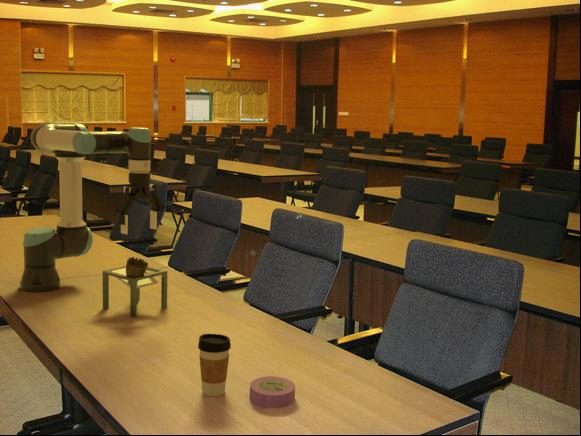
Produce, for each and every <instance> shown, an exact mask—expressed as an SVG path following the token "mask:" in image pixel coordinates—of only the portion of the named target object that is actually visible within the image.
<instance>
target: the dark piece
mask: <svg viewBox="0 0 581 436" xmlns="http://www.w3.org/2000/svg"><path fill="white" fill-rule="evenodd" d="M125 266H126V275H127V276H131V277H137V276H143V275H144V274H145V272H147V270H146V269H147V266H149V262H147V260H145V261H144V259H142V258H140V257H139V259H138V257H136V258H135V257H134V256H132V257H128V259H126V265H125ZM128 281H129V280H128ZM129 282H130V281H129ZM137 282H138V281H137Z"/></svg>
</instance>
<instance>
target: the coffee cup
mask: <svg viewBox="0 0 581 436" xmlns="http://www.w3.org/2000/svg"><path fill="white" fill-rule="evenodd" d="M197 348H198V350H199V356H198V357H199V368H200V378H201V379H200V380H201V392H202V394H203V395H204V396H206V397H212V398H213V397H220V396H222V395H224V394H225V392H226V384H227V375H228V369H229V361H230V359H229V358H230V354H229V353H230V349H231V339H230V337H229V336H227V335H223V334H217V333H203V334H201V335H199V338H198V344H197Z"/></svg>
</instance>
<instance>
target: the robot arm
mask: <svg viewBox="0 0 581 436" xmlns="http://www.w3.org/2000/svg"><path fill="white" fill-rule="evenodd" d="M151 137H152V136H151V129H150V128H147V127H138V126H137V127H135V126H134V127H133V126H132V127H129V129H128V131H123V130H114V131H89V130H88V128H87V127H86V126H85V125H84V124H83V123H82V124H81V123H74V122H64V123H61V122H60V123H59V122H57V123H56V122H46V123H41V124H39V125H37V126H36V127H35V128H33V130H32V131H31V133H30V142H31V144H32V146H33V147H34V148H35V150H37V151H39V152H42V153H48V154H54V156H55V157H54V158H55V159H57V160H58V168H59V175H58V176H59V214H60V215H59V218H60V220H59V221H58V222H57V223H56V229H55V227H52V226H44V227H42V226H40V227H35V228H32V229H28V230H27V231H26V232H25V233H24V234H23V242H22V243H23V244H22V245H23V265H24V268H23V272H22V275H21V279H20V281H19V289H20V290H22V291H26V292H32V293H34V292H35V293H37V292H48V291H53V290H56V289H59V288H60V287H61V278H60V275H59V273H58V271H57V268H56V267H57V266H56V260H60V259H65V258H66V259H67V258H73V257H74V258H75V257H76V258H77V257H82V256H84V255H87V254H88V253H89V251H91V249H92V245H93V242H94V241H93V237H94V236H93V233H92V230H91V228H89V227H88V226H87V222H86V221H84V219H83V165H82V162H83V160H85V159H86V155H90V154H91V155H92V154H128V169H127V170H128V171H129V172H128V183H129V186H122V188H121V194H120V197H119V199H118V201H117V204H116V207H115V210H114V214H115V215H117V216H119V225H120V234H122V235H128V234H129V233H128V232H129V231H128V230H129V226H128V225H129V224H128V223H129V219H128V218H129V217H128V215H127V213H128V212H129V210H130V209H131V207H132V206H133V204H134V202H135V201H136V200H139V199H144V200H145V202H146V203H147V204H148V206H149V207H150V209H151V210H150V211H149V229H151V230H157V228H158V219H159V212H161V210H162V209H163V204H162V201H161V199H160V197H159V193H158V190H157V185H156V184H155V183H154V184H153V183H151V173H150V172H151V152H152V151H151V150H152V149H151V148H152V146H151V145H152V138H151Z"/></svg>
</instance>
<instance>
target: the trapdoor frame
mask: <svg viewBox="0 0 581 436" xmlns="http://www.w3.org/2000/svg"><path fill="white" fill-rule="evenodd" d="M123 268H126V265H124V266H119V267H118V266H117V267H114V268H110V269H106V270H105V269H104V270H102V309H103V310H108V309H110V305H109V302H110V297H109V292H110V290H109V289H110V285H109V284H110V282H109V281H110V280H109V278H110V277H115V278H116V277H117V278H121V279H125V280H129V281H130V288H129V292H130V293H129V294H130V295H129V296H130V300H129V302H130V303H129V304H130V305H129V307H130V310H129V318H133V319H134V318H137V316H138V315H137V309H138V308H137V307H138V306H137V301H140V295H141V294H140V291H141V288H137V281H138V280H142V279H146V278H151V277H153V278H155V277H158V276H161V279H160V281H161V293H160V294H161V297H160V299H161V302H160V303H161V305H160V306H161V307H160V308H161V309H163V310H164V309H167V308H168V270H167V269H166V270H165V269H161V268H157V267H155V266H154V267H153V266H149V265H148V266H147V269H146V271H149V272H150V271H151V272H150V273H148V274H146V275H143V276H137V277H131V276H127V275H123V274H119V273H115V272H111V271H114V270H118V269H123ZM117 278H116V279H117Z"/></svg>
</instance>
